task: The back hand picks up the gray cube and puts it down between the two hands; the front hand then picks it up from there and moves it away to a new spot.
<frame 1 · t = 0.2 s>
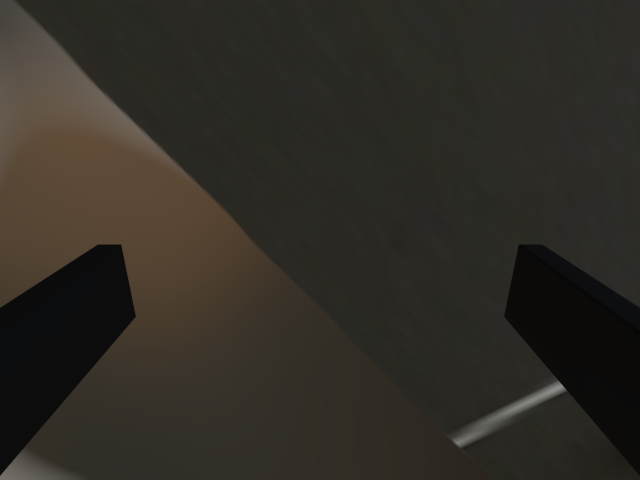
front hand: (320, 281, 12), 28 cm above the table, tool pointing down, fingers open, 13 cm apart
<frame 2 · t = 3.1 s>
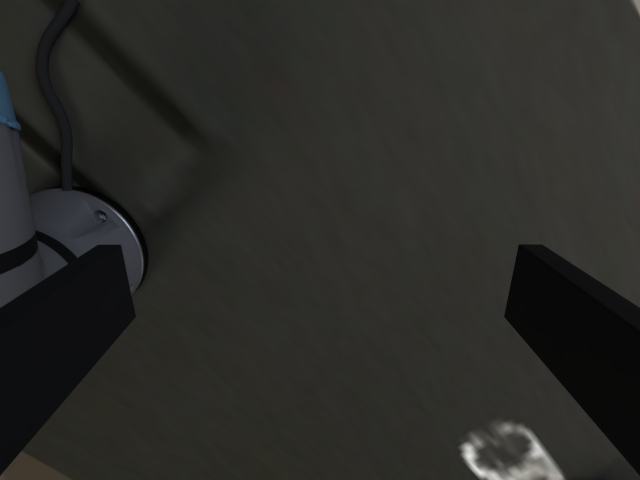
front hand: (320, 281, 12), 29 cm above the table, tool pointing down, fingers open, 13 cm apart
when the back hand's fingers open (3 cm above the table, at t = 10.8 s): gray cube drops 1 cm, on the table.
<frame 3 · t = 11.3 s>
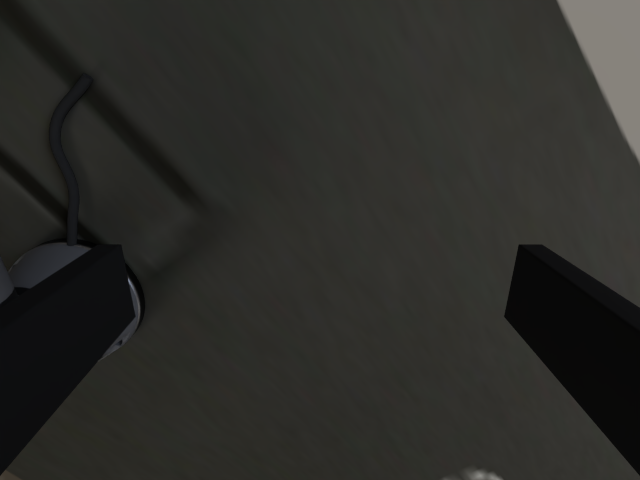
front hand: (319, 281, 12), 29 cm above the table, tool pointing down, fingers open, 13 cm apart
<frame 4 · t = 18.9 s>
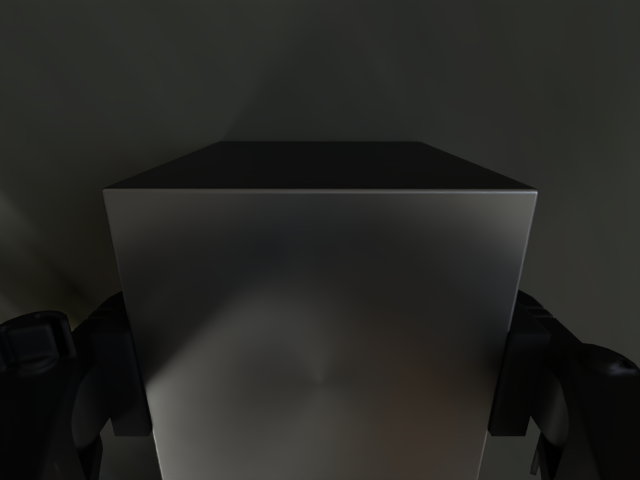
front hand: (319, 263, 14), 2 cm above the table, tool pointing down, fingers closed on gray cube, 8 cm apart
gray cube: (320, 246, 16), on the table, touching front hand
when the front hand's fingers open (3 cm above the table, at t = 28.3 s): gray cube drops 1 cm, on the table.
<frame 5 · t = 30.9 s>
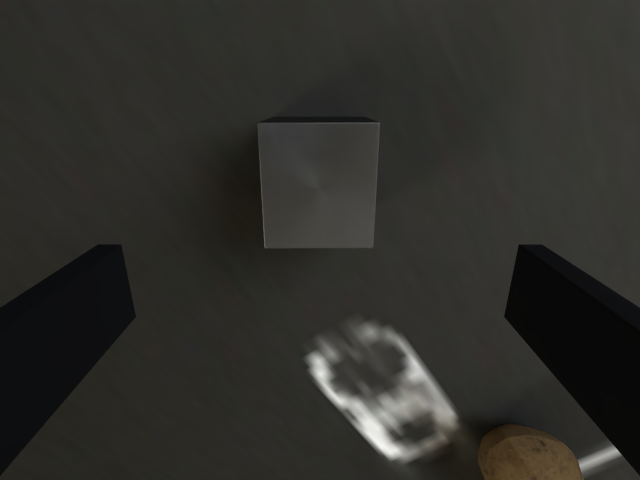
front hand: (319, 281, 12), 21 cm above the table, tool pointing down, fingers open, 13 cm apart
gray cube: (319, 168, 32), on the table
potato: (509, 438, 43), on the table
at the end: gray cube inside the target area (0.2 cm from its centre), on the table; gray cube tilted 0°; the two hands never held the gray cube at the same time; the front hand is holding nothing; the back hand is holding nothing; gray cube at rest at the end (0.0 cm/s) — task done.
